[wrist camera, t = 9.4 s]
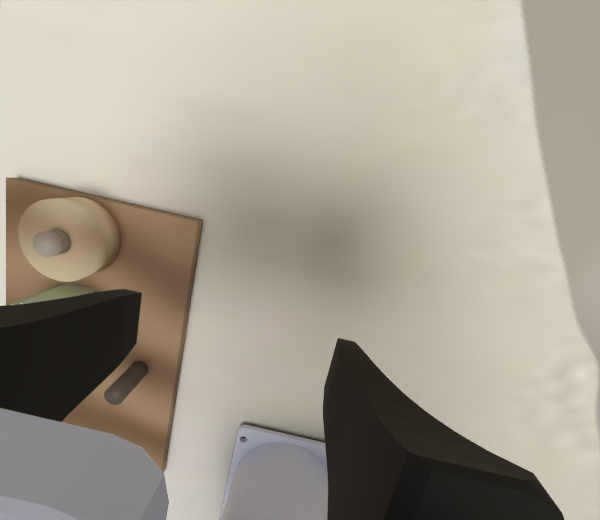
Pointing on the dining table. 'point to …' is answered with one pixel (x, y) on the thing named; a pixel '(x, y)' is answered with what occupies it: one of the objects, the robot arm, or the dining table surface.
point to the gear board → (110, 276)
